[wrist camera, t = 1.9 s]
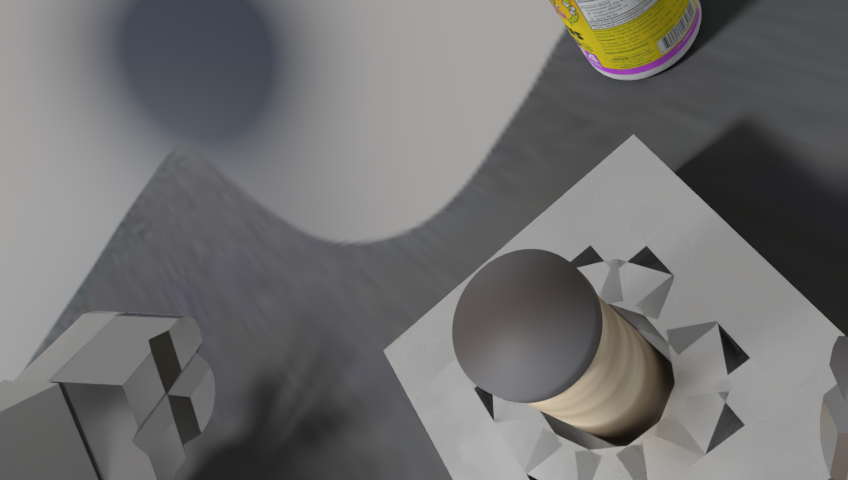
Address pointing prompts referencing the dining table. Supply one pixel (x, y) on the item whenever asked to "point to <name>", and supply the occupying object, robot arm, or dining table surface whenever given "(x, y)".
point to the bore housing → (664, 328)
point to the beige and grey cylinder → (559, 347)
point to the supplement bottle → (631, 33)
